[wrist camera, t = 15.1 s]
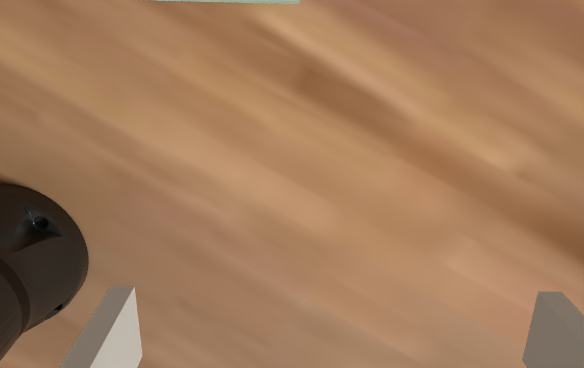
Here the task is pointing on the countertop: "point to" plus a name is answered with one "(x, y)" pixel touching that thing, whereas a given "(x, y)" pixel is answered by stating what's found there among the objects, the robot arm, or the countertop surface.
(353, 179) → the countertop surface
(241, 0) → the mat
